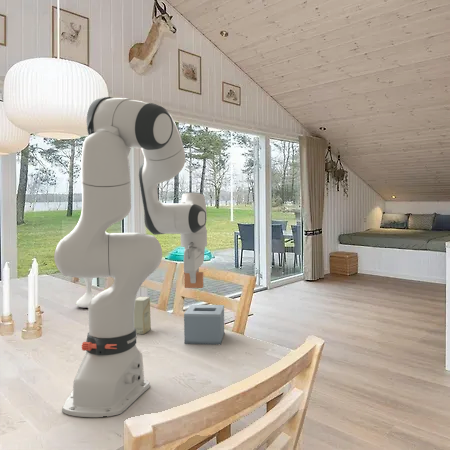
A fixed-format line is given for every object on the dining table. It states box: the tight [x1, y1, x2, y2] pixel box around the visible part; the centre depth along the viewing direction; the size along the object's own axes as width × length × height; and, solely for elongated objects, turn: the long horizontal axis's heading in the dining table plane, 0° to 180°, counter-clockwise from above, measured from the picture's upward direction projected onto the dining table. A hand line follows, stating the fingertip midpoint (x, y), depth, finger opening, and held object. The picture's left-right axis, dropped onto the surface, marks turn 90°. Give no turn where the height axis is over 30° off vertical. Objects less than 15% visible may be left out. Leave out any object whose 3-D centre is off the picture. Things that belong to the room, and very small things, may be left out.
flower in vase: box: [75, 278, 97, 309], centre depth 184 cm, size 13×11×25 cm
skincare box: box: [134, 296, 152, 335], centre depth 148 cm, size 6×4×12 cm
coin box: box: [183, 304, 225, 346], centre depth 139 cm, size 12×12×10 cm
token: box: [184, 271, 204, 289], centre depth 138 cm, size 2×6×5 cm, turn 85°
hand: (194, 281), depth 138 cm, fingers closed on token, 2 cm apart
